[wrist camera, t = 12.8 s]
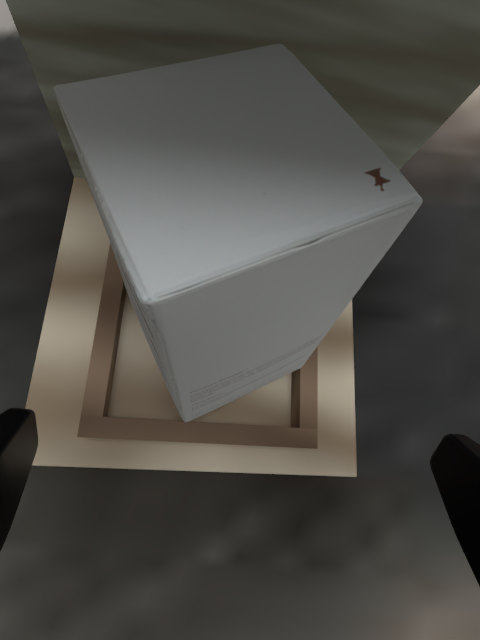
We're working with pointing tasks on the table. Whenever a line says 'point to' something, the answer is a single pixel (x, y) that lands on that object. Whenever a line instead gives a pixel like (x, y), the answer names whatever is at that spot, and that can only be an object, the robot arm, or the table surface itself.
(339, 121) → the supplement box
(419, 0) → the awning stand
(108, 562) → the table surface
